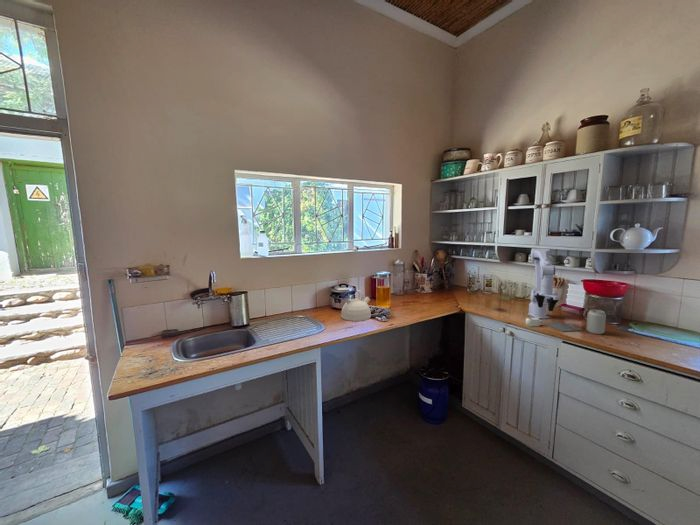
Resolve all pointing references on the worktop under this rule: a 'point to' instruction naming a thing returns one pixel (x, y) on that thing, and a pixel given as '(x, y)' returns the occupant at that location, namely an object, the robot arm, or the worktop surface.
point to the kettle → (356, 308)
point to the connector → (533, 322)
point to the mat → (561, 326)
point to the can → (596, 321)
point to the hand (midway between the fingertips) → (545, 309)
